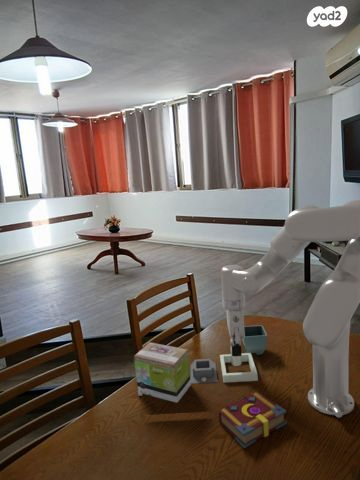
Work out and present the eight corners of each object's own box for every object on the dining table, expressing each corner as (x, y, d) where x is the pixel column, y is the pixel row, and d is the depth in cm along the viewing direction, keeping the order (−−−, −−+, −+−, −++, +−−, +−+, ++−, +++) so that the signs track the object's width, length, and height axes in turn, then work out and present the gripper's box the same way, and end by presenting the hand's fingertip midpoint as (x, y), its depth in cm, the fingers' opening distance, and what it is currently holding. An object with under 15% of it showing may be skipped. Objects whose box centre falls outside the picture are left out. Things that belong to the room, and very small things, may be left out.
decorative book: (218, 424, 99) (217, 408, 98) (261, 402, 107) (260, 387, 106) (244, 449, 89) (243, 432, 88) (289, 423, 97) (289, 407, 96)
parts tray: (258, 384, 115) (257, 373, 114) (223, 386, 116) (223, 375, 115) (251, 362, 128) (250, 352, 127) (220, 364, 129) (219, 354, 128)
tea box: (137, 396, 114) (132, 355, 112) (153, 379, 123) (149, 340, 120) (178, 407, 107) (173, 363, 104) (192, 388, 116) (188, 347, 113)
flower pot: (268, 357, 131) (267, 335, 129) (244, 359, 131) (243, 336, 129) (263, 346, 139) (262, 324, 138) (241, 347, 140) (239, 326, 138)
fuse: (242, 365, 120) (241, 342, 118) (231, 366, 120) (230, 343, 118) (240, 360, 123) (239, 337, 121) (230, 360, 123) (229, 338, 121)
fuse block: (217, 385, 116) (217, 373, 115) (190, 387, 117) (189, 375, 116) (215, 366, 128) (214, 354, 127) (190, 367, 128) (189, 356, 128)
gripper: (249, 311, 109) (251, 365, 112) (241, 292, 125) (243, 340, 128) (224, 312, 109) (227, 366, 113) (220, 294, 125) (222, 341, 129)
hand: (235, 352), depth 120 cm, fingers closed on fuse, 3 cm apart
